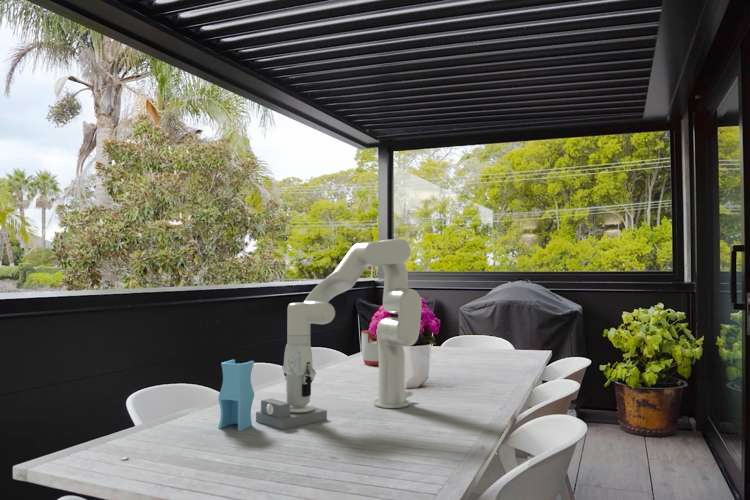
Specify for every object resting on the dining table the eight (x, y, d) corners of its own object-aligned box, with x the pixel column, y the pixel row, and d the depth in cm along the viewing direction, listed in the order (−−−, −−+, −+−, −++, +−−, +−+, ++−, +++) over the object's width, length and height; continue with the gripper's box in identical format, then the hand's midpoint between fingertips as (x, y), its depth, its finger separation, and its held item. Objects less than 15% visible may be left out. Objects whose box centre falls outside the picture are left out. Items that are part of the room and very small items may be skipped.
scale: (300, 412, 208) (300, 391, 208) (326, 419, 198) (327, 398, 198) (255, 421, 195) (256, 399, 195) (282, 429, 185) (282, 406, 186)
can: (305, 407, 194) (305, 370, 195) (283, 406, 196) (283, 369, 196) (312, 402, 202) (312, 366, 202) (291, 401, 203) (291, 365, 203)
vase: (253, 424, 191) (254, 361, 192) (240, 430, 184) (241, 364, 184) (232, 422, 194) (232, 359, 194) (218, 428, 186) (219, 363, 187)
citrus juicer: (357, 366, 306) (357, 326, 306) (363, 361, 323) (364, 323, 323) (388, 367, 303) (388, 327, 304) (392, 362, 320) (393, 324, 321)
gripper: (273, 338, 203) (273, 392, 202) (306, 343, 191) (306, 400, 190) (291, 337, 208) (291, 388, 208) (324, 341, 196) (324, 396, 195)
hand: (298, 393), depth 199 cm, fingers closed on can, 7 cm apart
